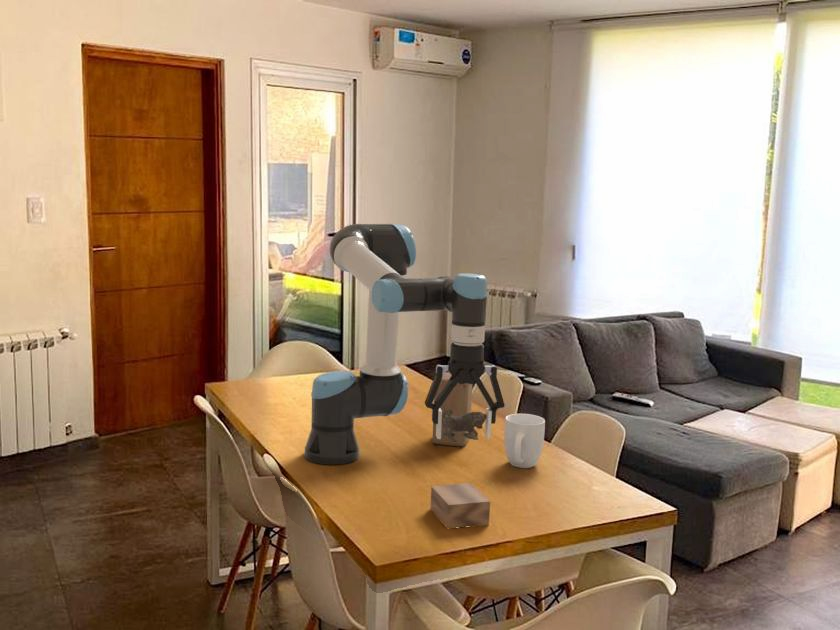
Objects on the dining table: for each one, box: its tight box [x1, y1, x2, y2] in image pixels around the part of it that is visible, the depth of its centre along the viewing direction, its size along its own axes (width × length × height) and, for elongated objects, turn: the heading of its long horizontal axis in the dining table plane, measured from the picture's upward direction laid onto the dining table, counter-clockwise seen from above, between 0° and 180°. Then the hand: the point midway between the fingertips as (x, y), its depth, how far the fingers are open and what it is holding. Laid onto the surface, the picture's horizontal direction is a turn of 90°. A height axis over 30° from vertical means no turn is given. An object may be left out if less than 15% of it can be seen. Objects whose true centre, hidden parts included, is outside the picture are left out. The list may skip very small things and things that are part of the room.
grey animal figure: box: [442, 409, 486, 444], centre depth 196 cm, size 12×6×7 cm, turn 118°
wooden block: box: [431, 371, 473, 447], centre depth 255 cm, size 10×10×20 cm
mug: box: [503, 413, 546, 469], centre depth 235 cm, size 15×11×13 cm
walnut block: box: [430, 482, 491, 529], centre depth 199 cm, size 10×12×6 cm
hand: (463, 437), depth 196 cm, fingers closed on grey animal figure, 11 cm apart
